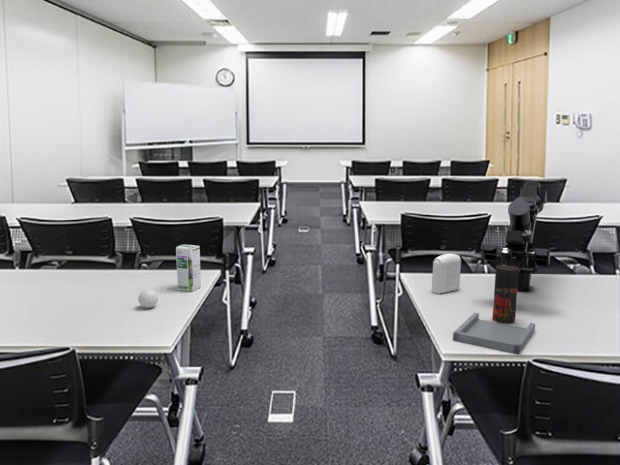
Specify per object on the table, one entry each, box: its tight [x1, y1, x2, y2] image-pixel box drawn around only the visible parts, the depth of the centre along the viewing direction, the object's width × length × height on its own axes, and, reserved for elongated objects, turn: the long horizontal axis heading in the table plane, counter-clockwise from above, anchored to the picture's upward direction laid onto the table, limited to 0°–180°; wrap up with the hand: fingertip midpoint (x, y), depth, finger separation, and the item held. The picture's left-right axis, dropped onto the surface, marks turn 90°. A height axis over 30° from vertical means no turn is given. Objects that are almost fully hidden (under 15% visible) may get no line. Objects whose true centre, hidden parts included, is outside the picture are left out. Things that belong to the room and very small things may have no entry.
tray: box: [452, 312, 536, 355], centre depth 142 cm, size 18×16×2 cm
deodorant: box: [492, 264, 519, 325], centre depth 152 cm, size 6×6×15 cm
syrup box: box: [175, 244, 202, 292], centre depth 181 cm, size 6×6×14 cm
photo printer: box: [431, 253, 462, 294], centre depth 179 cm, size 10×4×12 cm, turn 123°
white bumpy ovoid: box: [137, 288, 159, 309], centre depth 163 cm, size 8×6×6 cm
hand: (510, 279), depth 159 cm, fingers closed
